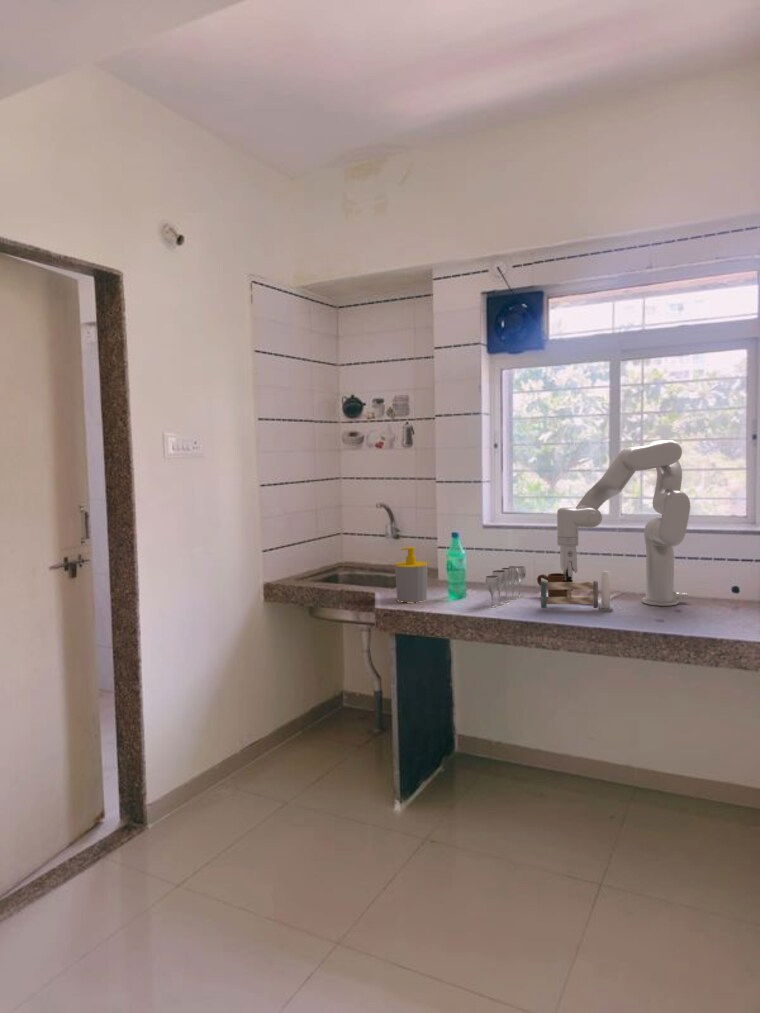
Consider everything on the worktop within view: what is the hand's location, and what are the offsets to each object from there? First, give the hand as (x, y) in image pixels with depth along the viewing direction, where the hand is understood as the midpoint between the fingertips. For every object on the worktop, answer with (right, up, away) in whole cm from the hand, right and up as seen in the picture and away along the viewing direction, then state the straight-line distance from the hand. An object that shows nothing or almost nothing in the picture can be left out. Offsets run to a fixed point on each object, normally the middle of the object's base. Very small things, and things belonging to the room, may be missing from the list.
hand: (567, 590), depth 254 cm
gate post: (+11, -6, -8) cm, 15 cm away
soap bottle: (-57, -7, +18) cm, 60 cm away
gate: (-1, -6, -7) cm, 9 cm away
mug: (-2, -5, +15) cm, 16 cm away
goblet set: (-21, -6, +10) cm, 24 cm away
